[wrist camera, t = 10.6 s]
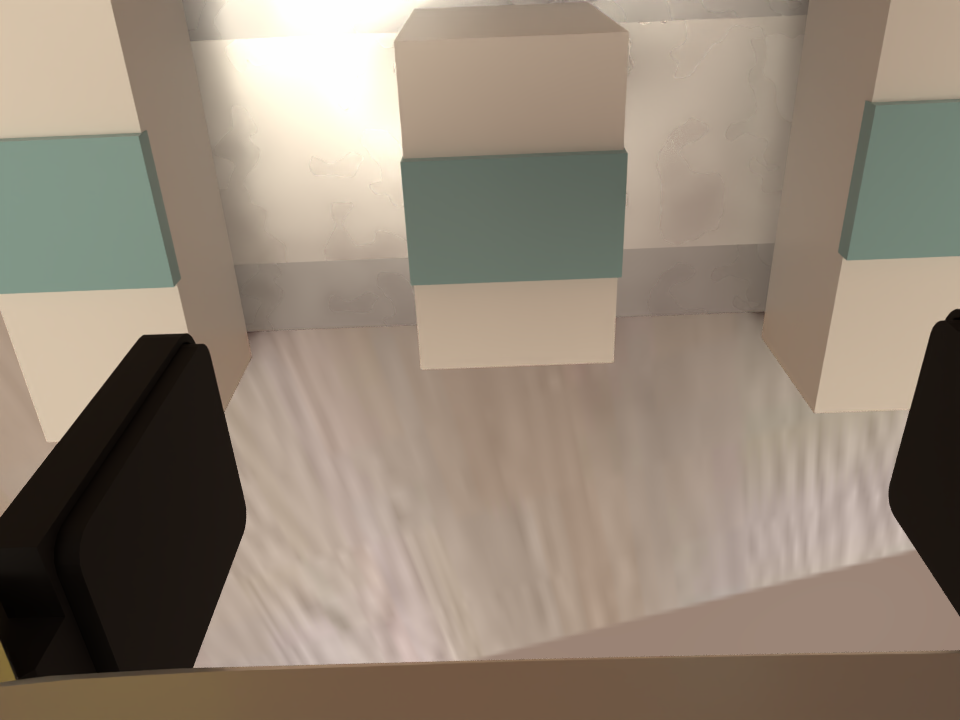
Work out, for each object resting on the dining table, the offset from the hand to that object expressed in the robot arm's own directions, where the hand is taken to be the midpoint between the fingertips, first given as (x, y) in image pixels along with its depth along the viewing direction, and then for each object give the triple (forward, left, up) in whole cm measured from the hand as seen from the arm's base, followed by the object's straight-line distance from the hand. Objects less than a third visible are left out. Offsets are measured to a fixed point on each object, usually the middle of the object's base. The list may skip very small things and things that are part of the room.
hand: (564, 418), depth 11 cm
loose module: (0, 0, -16) cm, 16 cm away
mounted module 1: (+12, +1, -16) cm, 20 cm away
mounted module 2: (-11, +1, -16) cm, 20 cm away
